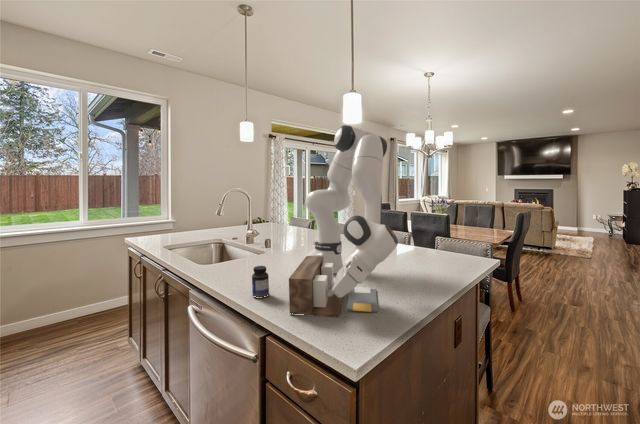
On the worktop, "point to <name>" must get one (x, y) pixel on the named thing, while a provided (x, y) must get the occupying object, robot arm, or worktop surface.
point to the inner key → (328, 273)
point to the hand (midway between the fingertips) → (328, 293)
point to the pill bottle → (260, 282)
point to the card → (362, 300)
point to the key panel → (310, 290)
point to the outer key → (320, 291)
